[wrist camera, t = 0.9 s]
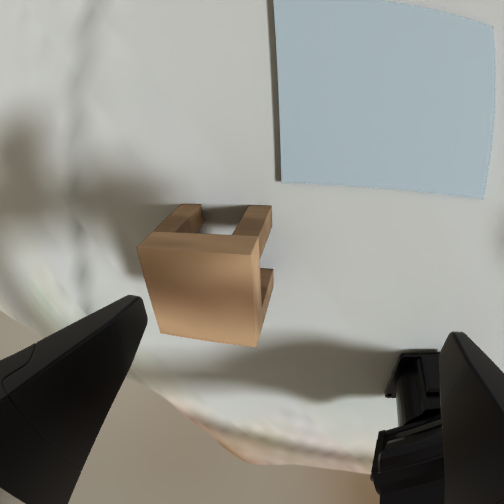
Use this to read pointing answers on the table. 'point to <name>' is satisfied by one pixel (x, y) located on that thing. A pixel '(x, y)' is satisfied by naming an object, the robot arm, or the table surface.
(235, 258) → the light brown block
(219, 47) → the table surface
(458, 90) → the mat
